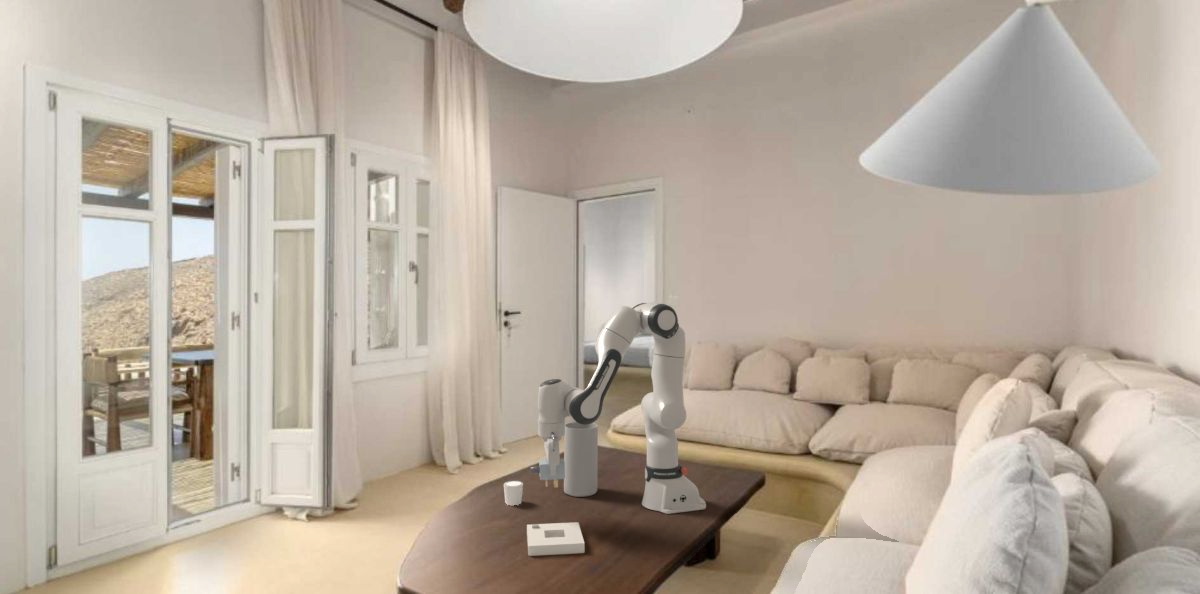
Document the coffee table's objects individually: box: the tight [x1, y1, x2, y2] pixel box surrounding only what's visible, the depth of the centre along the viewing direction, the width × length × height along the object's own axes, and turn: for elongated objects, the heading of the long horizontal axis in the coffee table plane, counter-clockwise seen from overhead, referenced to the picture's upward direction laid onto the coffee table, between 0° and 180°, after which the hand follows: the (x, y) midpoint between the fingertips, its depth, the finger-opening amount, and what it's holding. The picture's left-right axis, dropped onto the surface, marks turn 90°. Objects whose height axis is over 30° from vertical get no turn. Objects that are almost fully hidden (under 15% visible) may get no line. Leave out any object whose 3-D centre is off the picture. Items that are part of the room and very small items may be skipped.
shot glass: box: [503, 480, 524, 507], centre depth 214 cm, size 7×7×7 cm
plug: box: [529, 457, 565, 488], centre depth 198 cm, size 11×6×8 cm, turn 98°
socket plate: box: [526, 521, 586, 557], centre depth 180 cm, size 16×16×4 cm
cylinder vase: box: [563, 421, 599, 498], centre depth 227 cm, size 12×12×25 cm
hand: (552, 471), depth 198 cm, fingers closed on plug, 6 cm apart
